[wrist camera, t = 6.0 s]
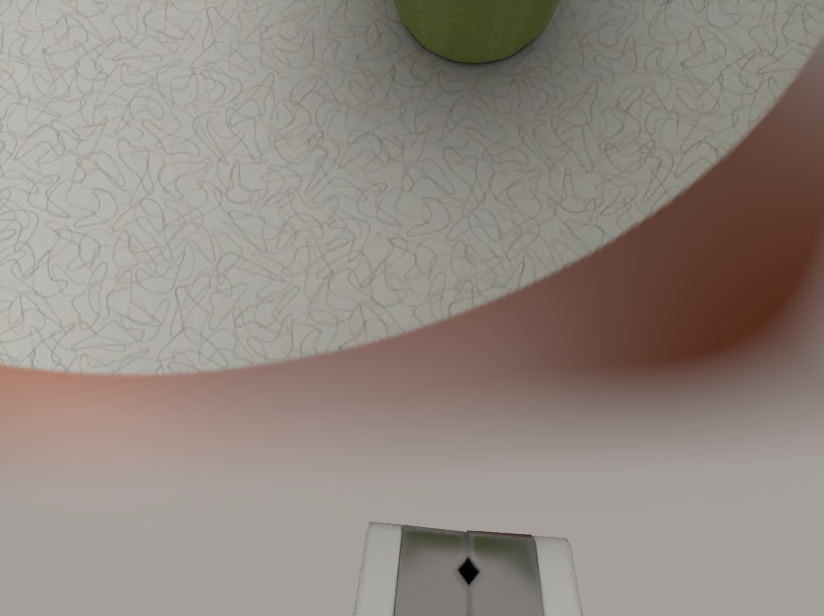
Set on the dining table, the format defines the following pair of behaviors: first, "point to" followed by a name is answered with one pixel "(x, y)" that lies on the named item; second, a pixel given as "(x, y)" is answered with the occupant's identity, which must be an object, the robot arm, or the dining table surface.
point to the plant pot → (475, 26)
